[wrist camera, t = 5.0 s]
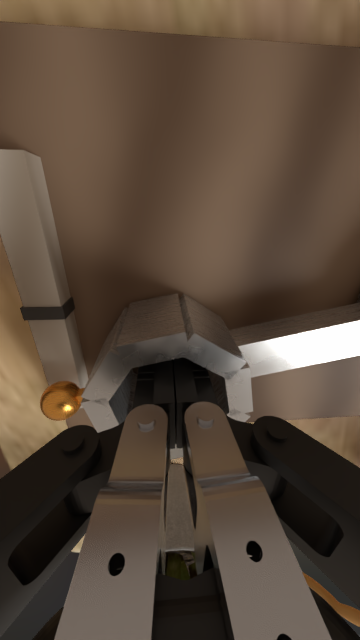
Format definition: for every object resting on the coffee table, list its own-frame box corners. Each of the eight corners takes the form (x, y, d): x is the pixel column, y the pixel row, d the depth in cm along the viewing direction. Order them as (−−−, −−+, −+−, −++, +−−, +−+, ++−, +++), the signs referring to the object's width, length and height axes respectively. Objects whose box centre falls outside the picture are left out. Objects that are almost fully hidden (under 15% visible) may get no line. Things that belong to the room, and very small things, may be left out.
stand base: (550, 90, 11) (700, 44, 8) (383, 393, 19) (424, 427, 16) (-13, 56, 9) (-101, -22, 6) (79, 409, 17) (62, 451, 14)
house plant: (79, 518, 24) (-47, 1000, 9) (81, 430, 18) (-243, 1341, 4) (207, 519, 26) (267, 910, 12) (246, 441, 20) (461, 1026, 6)
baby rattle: (509, 216, 11) (682, 220, 7) (457, 338, 14) (559, 383, 10) (31, 320, 11) (-29, 372, 8) (85, 415, 14) (60, 484, 11)
